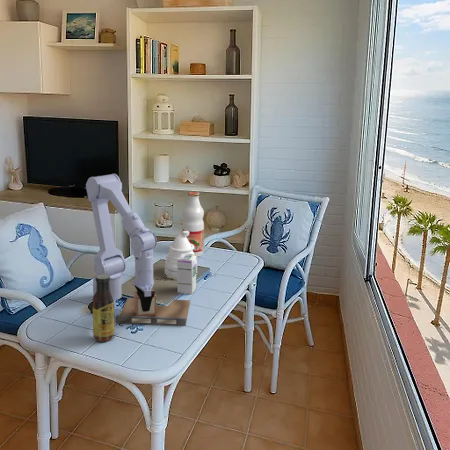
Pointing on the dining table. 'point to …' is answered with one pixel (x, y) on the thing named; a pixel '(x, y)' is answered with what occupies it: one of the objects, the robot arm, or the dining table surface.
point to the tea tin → (139, 308)
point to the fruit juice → (194, 223)
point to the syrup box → (186, 273)
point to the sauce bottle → (103, 310)
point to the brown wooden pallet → (164, 314)
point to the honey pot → (178, 253)
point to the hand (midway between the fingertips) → (144, 307)
